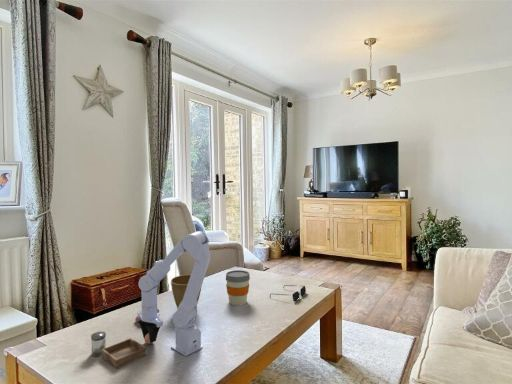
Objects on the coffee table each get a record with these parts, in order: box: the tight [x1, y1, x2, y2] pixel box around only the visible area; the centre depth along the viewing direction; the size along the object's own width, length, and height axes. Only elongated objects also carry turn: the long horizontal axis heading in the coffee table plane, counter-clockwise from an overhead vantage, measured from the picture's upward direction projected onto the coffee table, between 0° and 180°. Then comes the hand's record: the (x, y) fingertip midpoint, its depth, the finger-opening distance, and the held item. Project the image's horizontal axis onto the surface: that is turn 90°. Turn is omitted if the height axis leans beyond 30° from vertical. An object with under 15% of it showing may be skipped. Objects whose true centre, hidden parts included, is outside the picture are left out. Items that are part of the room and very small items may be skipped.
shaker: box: [90, 331, 107, 358], centre depth 117 cm, size 5×5×7 cm
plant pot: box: [170, 274, 203, 310], centre depth 154 cm, size 15×15×16 cm
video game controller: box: [134, 308, 160, 324], centre depth 145 cm, size 10×5×7 cm, turn 143°
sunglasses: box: [269, 284, 307, 302], centre depth 176 cm, size 17×15×5 cm
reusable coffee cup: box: [225, 269, 251, 306], centre depth 166 cm, size 13×12×15 cm
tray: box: [101, 337, 147, 369], centre depth 115 cm, size 11×11×3 cm
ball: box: [144, 333, 153, 345], centre depth 124 cm, size 4×4×4 cm
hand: (149, 339), depth 124 cm, fingers closed on ball, 4 cm apart
